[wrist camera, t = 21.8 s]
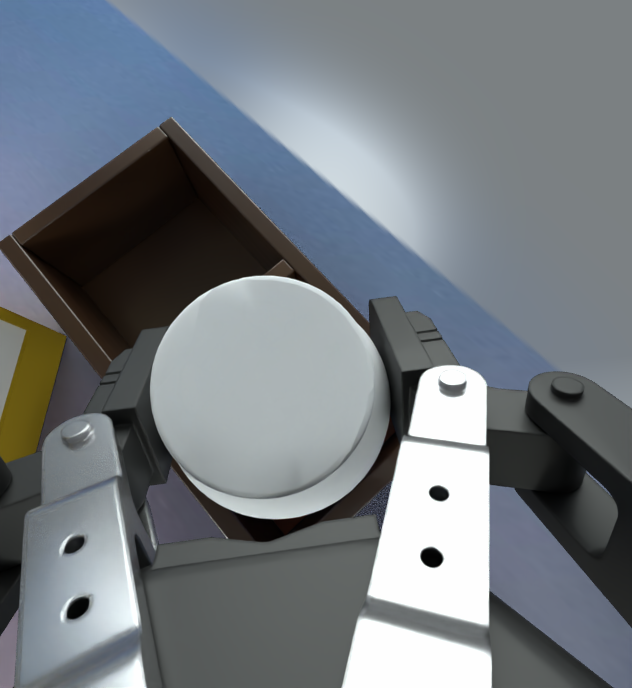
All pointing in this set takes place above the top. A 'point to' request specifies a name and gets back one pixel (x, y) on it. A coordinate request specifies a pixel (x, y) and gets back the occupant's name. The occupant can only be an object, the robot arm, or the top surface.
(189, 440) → the pill bottle
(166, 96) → the top surface
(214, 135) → the top surface
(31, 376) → the soap bottle
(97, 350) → the divided box
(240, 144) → the top surface
